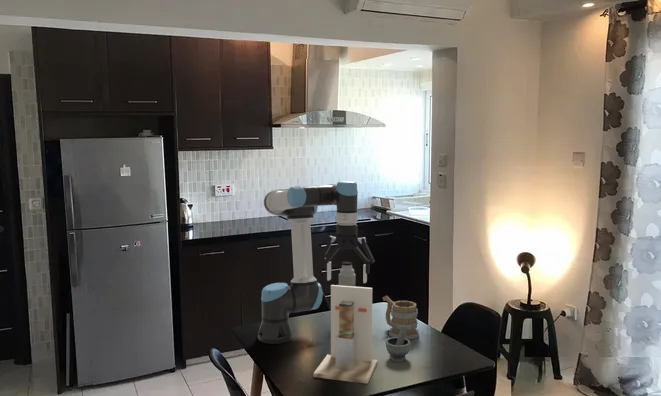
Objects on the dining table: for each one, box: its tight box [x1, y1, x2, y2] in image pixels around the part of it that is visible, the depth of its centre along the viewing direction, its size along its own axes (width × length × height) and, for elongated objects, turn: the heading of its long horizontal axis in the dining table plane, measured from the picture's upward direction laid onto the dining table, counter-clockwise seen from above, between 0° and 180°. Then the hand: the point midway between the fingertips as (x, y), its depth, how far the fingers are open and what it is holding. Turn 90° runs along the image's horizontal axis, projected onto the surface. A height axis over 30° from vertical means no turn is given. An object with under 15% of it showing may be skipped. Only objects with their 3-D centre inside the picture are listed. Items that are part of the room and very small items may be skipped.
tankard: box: [382, 295, 420, 341], centre depth 244 cm, size 20×13×15 cm, turn 34°
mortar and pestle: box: [385, 326, 411, 363], centre depth 215 cm, size 11×9×12 cm
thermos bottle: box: [338, 261, 356, 287], centre depth 260 cm, size 8×8×28 cm
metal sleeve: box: [336, 333, 357, 371], centre depth 203 cm, size 7×7×12 cm
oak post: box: [339, 300, 354, 338], centre depth 203 cm, size 5×5×24 cm
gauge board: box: [330, 284, 373, 361], centre depth 209 cm, size 16×2×28 cm, turn 74°
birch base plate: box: [313, 353, 378, 384], centre depth 204 cm, size 20×18×2 cm
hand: (346, 281), depth 200 cm, fingers open, 13 cm apart
